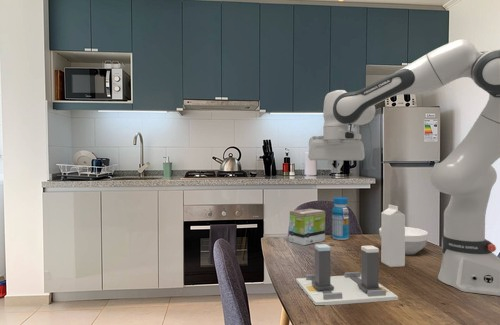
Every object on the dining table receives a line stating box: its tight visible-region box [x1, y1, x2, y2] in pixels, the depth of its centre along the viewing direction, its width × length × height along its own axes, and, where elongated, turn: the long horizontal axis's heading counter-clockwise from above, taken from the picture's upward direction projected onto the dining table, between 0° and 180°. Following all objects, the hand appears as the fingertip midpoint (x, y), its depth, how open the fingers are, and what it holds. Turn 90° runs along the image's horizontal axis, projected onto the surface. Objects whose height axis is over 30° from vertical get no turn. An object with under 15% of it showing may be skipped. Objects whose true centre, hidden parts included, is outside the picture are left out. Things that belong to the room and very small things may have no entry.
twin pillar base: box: [295, 271, 399, 306], centre depth 100 cm, size 24×18×2 cm
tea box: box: [288, 208, 326, 246], centre depth 159 cm, size 15×10×15 cm
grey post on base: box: [358, 245, 382, 293], centre depth 97 cm, size 5×5×12 cm
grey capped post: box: [312, 243, 334, 291], centre depth 99 cm, size 5×5×12 cm
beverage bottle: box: [331, 196, 350, 241], centre depth 165 cm, size 8×8×20 cm
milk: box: [380, 204, 406, 268], centre depth 124 cm, size 6×6×22 cm
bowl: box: [378, 226, 429, 256], centre depth 142 cm, size 19×19×9 cm
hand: (335, 172), depth 123 cm, fingers closed
